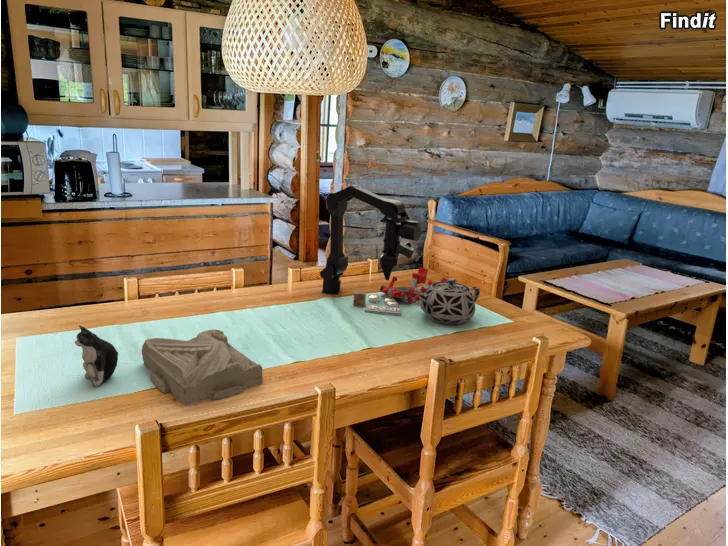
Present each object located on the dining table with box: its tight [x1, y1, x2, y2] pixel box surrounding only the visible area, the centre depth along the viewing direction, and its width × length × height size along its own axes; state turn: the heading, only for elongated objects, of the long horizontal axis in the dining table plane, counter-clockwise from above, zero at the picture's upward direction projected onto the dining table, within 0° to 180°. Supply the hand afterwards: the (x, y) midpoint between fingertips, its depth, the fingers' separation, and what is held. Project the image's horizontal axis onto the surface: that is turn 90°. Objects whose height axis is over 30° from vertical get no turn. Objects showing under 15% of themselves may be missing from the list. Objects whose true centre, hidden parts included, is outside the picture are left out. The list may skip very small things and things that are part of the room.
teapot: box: [414, 277, 481, 325], centre depth 200 cm, size 19×31×15 cm, turn 123°
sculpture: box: [141, 328, 264, 406], centre depth 149 cm, size 25×31×9 cm
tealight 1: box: [368, 294, 380, 304], centre depth 215 cm, size 4×4×3 cm
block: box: [352, 290, 367, 308], centre depth 210 cm, size 4×4×5 cm
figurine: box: [74, 324, 119, 388], centre depth 141 cm, size 10×10×15 cm
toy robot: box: [379, 266, 448, 305], centre depth 225 cm, size 18×10×30 cm
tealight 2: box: [384, 296, 396, 305], centre depth 214 cm, size 4×4×3 cm
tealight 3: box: [386, 300, 399, 307], centre depth 210 cm, size 4×4×3 cm
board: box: [364, 303, 403, 317], centre depth 206 cm, size 13×6×1 cm, turn 83°
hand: (388, 276), depth 208 cm, fingers open, 9 cm apart
